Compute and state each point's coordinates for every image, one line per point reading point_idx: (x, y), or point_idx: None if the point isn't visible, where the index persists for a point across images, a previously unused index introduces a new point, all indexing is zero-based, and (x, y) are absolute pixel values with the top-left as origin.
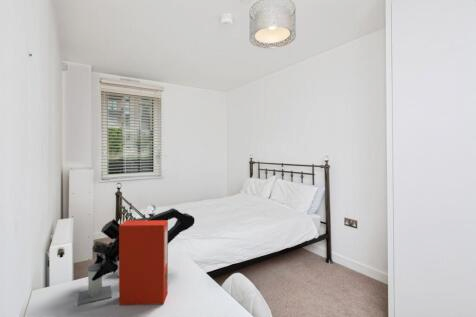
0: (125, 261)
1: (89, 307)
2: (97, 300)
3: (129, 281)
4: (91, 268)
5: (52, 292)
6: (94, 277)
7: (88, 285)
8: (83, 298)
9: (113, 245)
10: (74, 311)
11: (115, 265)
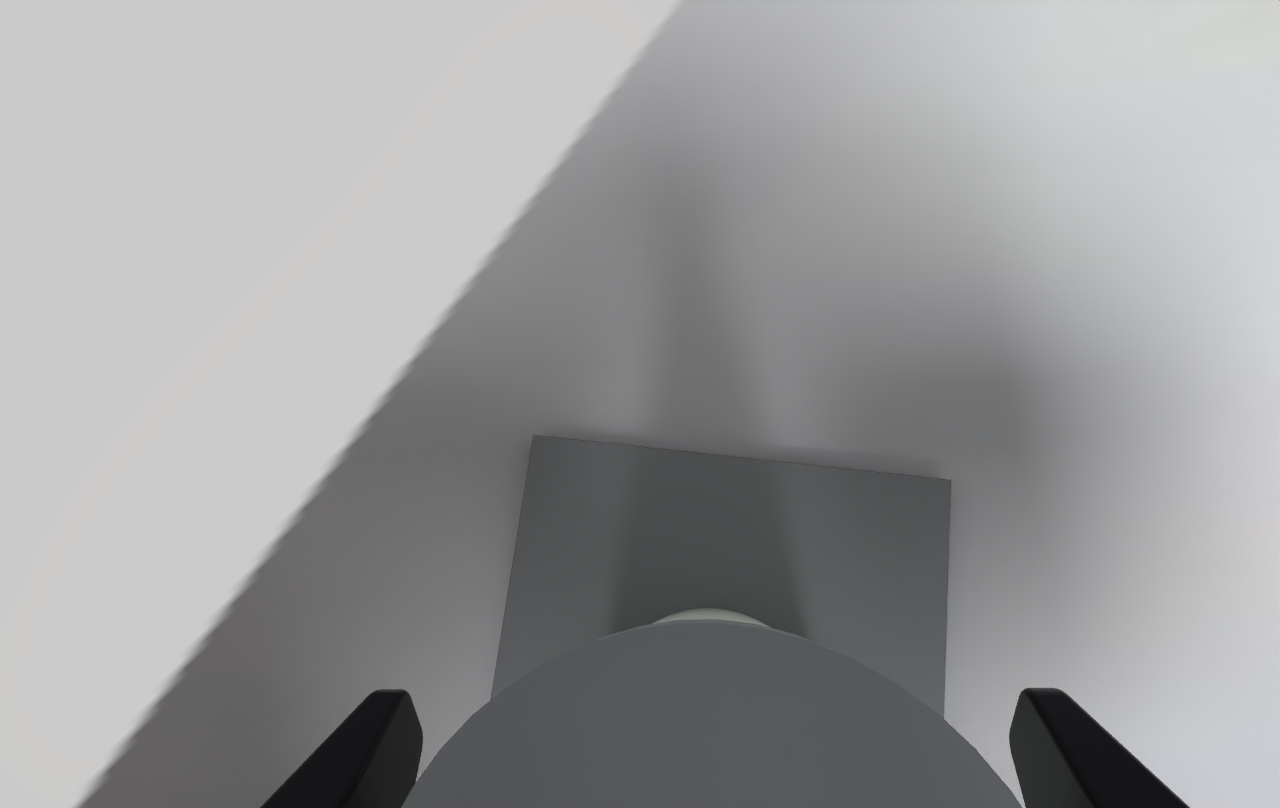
0: None
1: (380, 591)
2: None
3: None
4: (502, 782)
5: (1182, 118)
6: (301, 791)
7: (699, 613)
8: (670, 525)
9: None
10: (409, 397)
11: None
